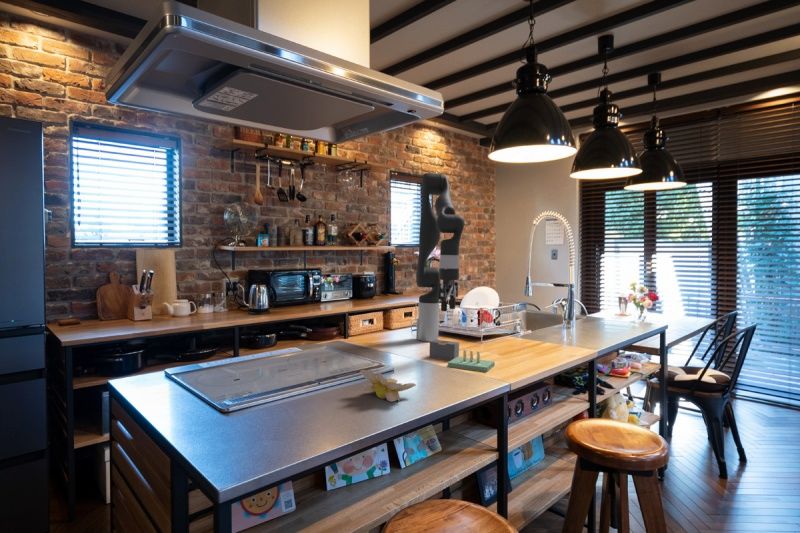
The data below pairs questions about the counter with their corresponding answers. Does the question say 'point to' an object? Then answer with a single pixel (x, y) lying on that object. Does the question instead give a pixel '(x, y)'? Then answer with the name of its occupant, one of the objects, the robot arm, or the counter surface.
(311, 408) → the counter surface
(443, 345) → the plug housing
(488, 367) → the pin board
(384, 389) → the decorative flower
